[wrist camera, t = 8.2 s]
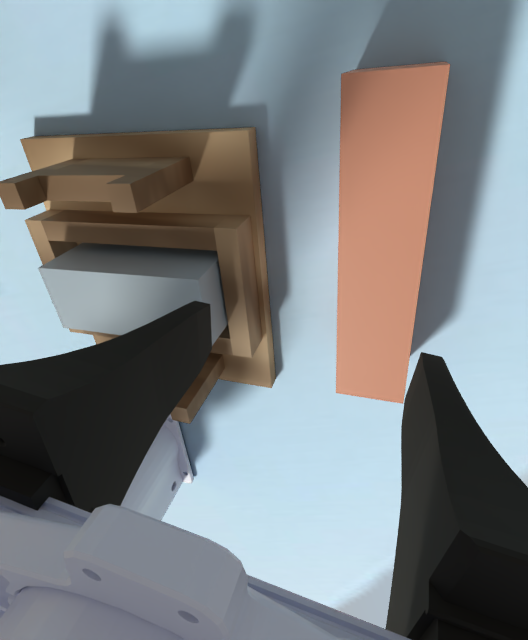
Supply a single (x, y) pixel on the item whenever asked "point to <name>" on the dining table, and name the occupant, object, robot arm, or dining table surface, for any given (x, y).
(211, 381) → the jig
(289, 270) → the dining table surface
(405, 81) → the terracotta rectangular bar
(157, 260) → the pale grey pillar block
